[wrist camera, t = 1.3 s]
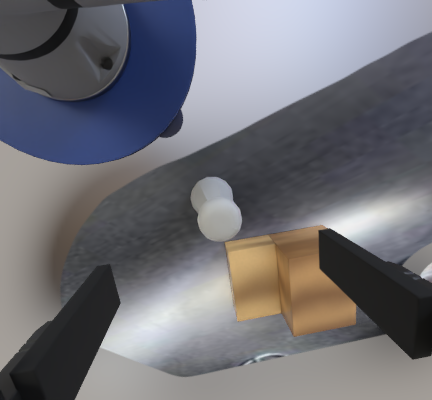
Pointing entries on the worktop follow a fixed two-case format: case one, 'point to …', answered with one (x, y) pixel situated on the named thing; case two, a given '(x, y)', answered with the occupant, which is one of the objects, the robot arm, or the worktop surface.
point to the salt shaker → (216, 209)
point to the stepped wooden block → (286, 282)
